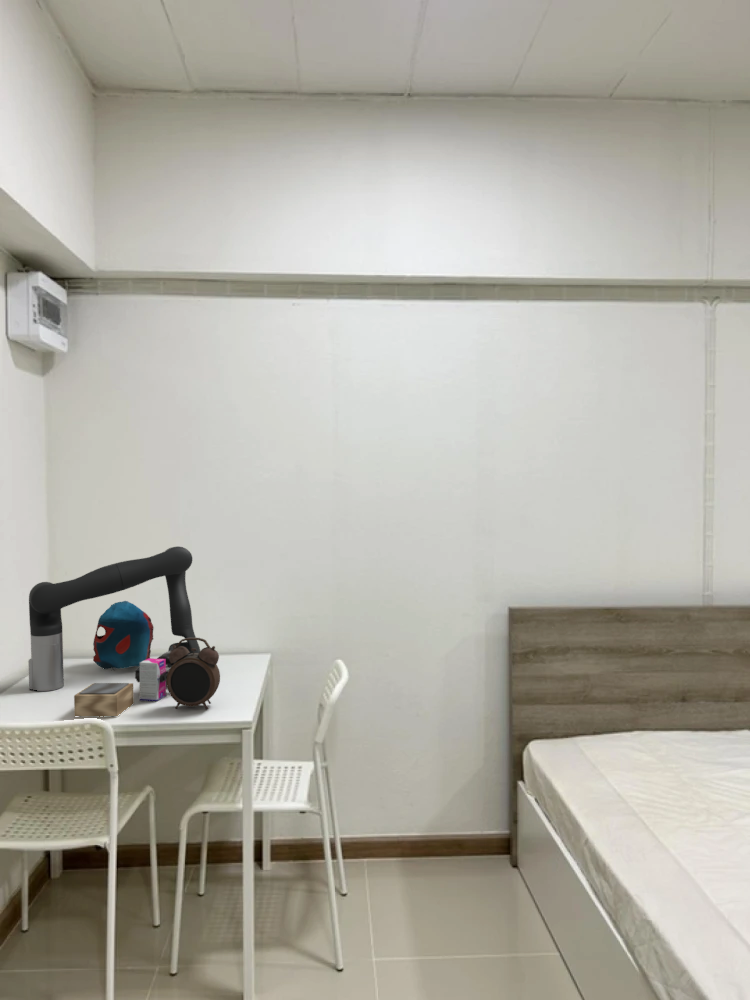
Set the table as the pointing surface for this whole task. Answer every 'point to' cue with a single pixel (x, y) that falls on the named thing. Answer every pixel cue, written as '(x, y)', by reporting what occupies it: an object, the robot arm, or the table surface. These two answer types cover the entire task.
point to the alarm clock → (193, 674)
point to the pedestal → (104, 699)
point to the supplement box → (152, 679)
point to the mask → (123, 637)
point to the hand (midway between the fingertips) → (149, 678)
